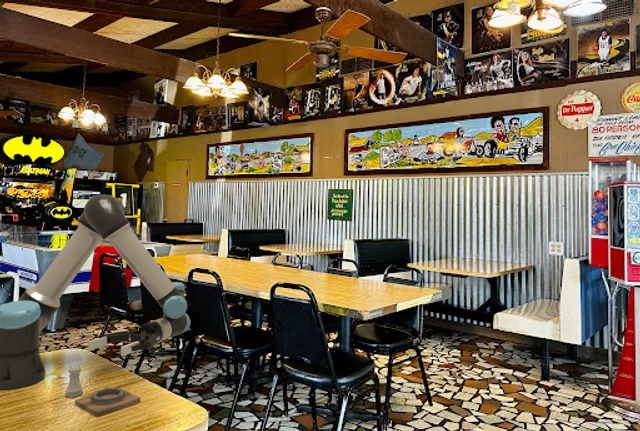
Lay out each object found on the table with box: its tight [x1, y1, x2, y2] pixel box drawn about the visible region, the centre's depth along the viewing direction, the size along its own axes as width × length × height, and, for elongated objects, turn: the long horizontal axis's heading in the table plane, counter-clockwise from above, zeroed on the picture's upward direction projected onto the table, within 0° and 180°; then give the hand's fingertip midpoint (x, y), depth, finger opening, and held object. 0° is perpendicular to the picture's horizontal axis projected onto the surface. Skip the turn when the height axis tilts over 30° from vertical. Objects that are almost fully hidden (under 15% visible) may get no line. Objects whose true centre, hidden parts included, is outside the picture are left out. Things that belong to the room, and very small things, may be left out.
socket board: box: [74, 387, 141, 418], centre depth 125 cm, size 12×12×3 cm
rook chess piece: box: [64, 364, 84, 398], centre depth 130 cm, size 4×4×8 cm
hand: (105, 348), depth 139 cm, fingers open, 13 cm apart
